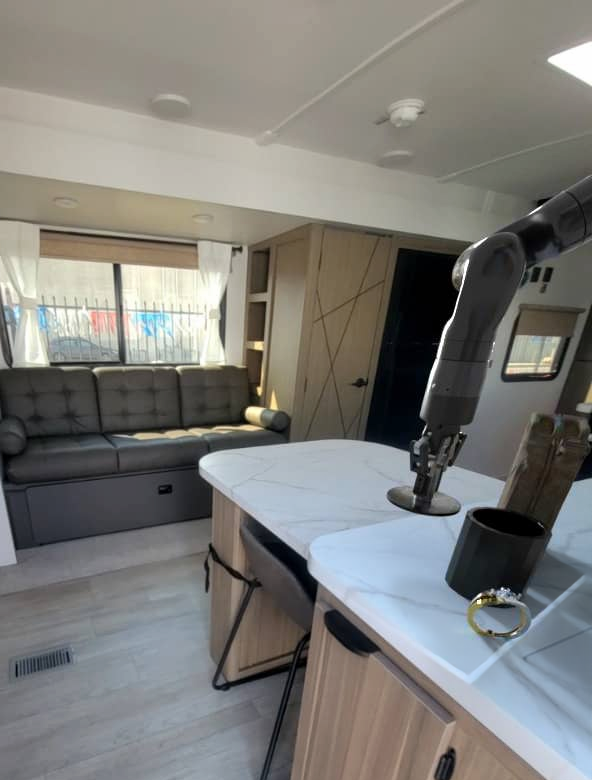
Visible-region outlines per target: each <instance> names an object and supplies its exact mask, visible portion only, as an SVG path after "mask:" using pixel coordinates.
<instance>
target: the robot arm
mask: <svg viewBox="0 0 592 780" xmlns="http://www.w3.org/2000/svg"><path fill="white" fill-rule="evenodd" d="M591 241H592V174H590V175H588V176H586V177H585V178H583V179H581V180H580V181H578V182H576V183H574V184H573V185H571V186H570V187H568V188H566V189H565V190H563V191H562V192H560V193H558V194H557V195H555V196H553V197H551V198H550V199H549V200H547V201H545V202H544V203H543V204H542V205H540V206H539V207H537V208H535V209H534V210H532V211H531V212H530V213H528V214H527V215H525V216H523V217H521V218H519V219H517V220H515V221H514V222H510V223H509V224H507V225H505V226H504V227H501V228H500V229H498V230H497V231H494V232H493V233H490V234H489V235H487V236H486V237H484V238H482V239H480V240H479V241H477V242H475V243H473V244H472V245H470V246H469V247H468V248H466V249H465V250H464V251H463V252H462V253H461V254H460V256H459V257H458V258H457V260H456V262H455V264H454V266H453V269H452V273H451V282H452V285H453V288H454V289H455V290H456V291H457V292H458V293H459V294H458V297H457V300H456V303H455V307H454V311H453V313H452V316H451V317H450V318H449V319H448V320H447V321H446V323H445V325H444V326H443V329H442V332H441V336H440V340H439V343H438V348H437V352H436V356H435V360H434V362H433V365H432V368H431V371H430V373H429V376H428V381H427V385H426V388H425V392H424V396H423V400H422V404H421V409H420V411H419V417H420V419H421V420H423V421H425V424H426V425H425V426H424V429H423V431H422V434H421V438H419V440H415V439H411V441H410V443H409V447H408V448H409V471H410V472H413V473H415V474H416V477H415V480H414V484H413V487H414V488H413V494H415V495H417V496H420V497H425V496H427V493H428V490H429V486H430V483H431V479H432V475H433V473H434V470H435V467H436V465H438V466H440V467H441V471H440V475H439V478H438V482H437V485H436V488H435V492H437V491H439V489H440V485H441V483H442V482H441V481H442V477H443V474H444V473H446V472H447V470H448V468H452V467H453V466H454V464H455V462H456V460H457V458H458V456H459V454H460V452H461V450H462V448H463V447H464V444H465V442H466V440H467V439H468V434H467V433H465V432H464V433H463V432H461V430H462V429H461V428H462V427H464V426H468V425H471V424H472V423H473V422H474V420H475V419H474V418H475V415H476V412H477V410H478V406H479V402H480V399H481V396H482V393H483V390H484V387H485V383H486V379H487V375H488V368H489V363H490V359H491V357H492V353H493V349H494V346H495V344H496V341H497V336H498V333H499V329H500V326H501V324H502V322H503V320H504V318H505V317H506V316H507V313H508V311H509V309H510V307H511V305H512V302H513V301H514V298H516V294H517V292H518V291H519V288H520V286H521V284H522V281H523V279H524V275H525V272H527V271H529V270H530V269H533V268H534V267H536V266H538V265H539V264H542V263H543V262H547V261H549V260H553V259H556V258H558V257H560V256H563V255H566V254H567V253H570V252H571V251H573V250H575V249H577V248H579V247H581V246H583V245H585V244H587V243H589V242H591ZM429 464H430V465H429ZM435 492H434V493H435Z"/></svg>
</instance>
